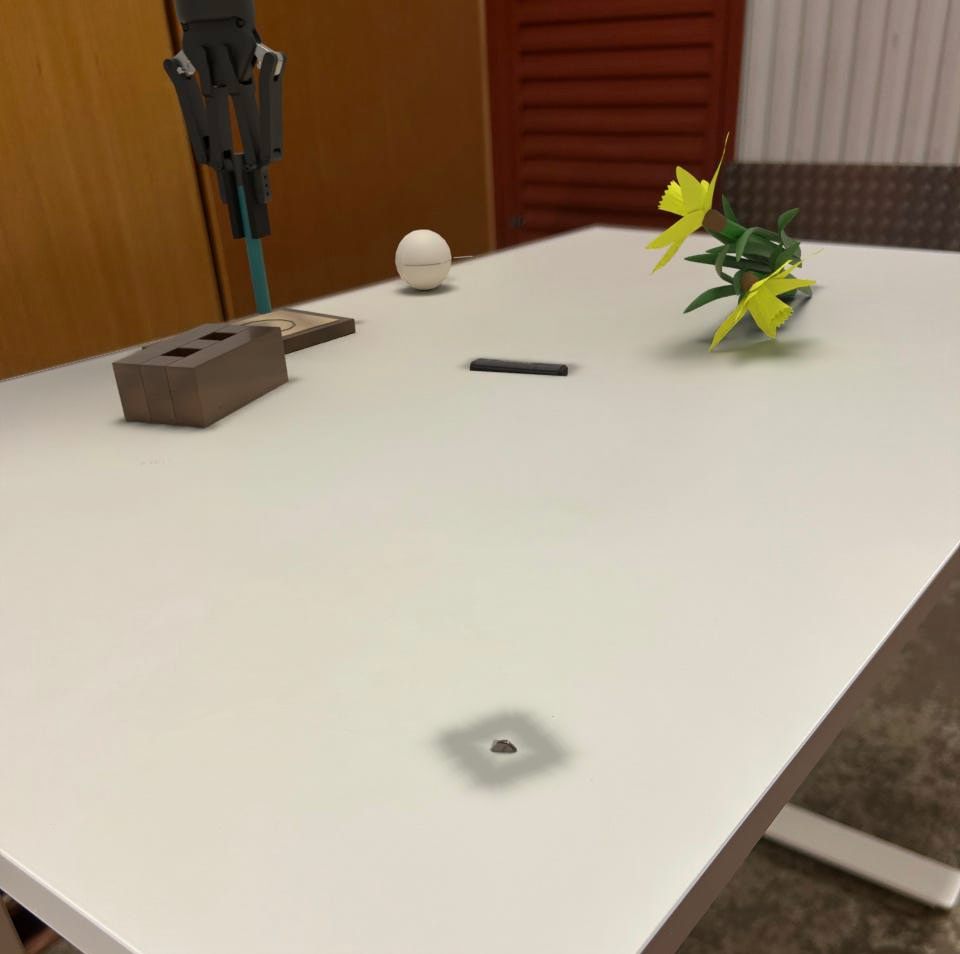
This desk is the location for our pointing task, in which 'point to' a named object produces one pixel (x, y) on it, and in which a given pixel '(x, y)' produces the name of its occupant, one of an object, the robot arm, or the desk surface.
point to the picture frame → (299, 327)
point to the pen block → (201, 374)
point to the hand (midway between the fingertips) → (252, 236)
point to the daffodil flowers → (757, 272)
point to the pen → (252, 242)
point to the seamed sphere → (423, 259)
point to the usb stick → (518, 367)
